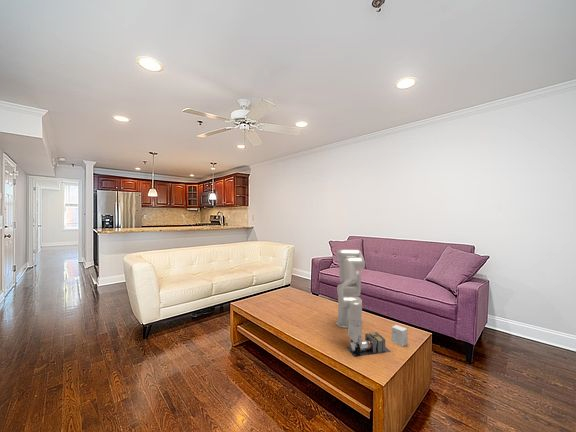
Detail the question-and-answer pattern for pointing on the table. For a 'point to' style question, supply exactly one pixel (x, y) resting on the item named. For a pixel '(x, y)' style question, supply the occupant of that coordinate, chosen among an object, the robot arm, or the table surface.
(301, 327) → the table surface
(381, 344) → the rail
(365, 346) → the tube
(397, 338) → the small box
